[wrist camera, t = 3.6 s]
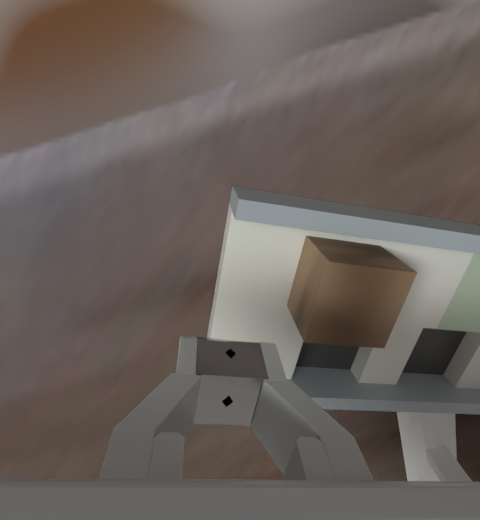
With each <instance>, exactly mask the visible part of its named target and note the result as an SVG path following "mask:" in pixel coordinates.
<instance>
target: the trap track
mask: <svg viewBox="0 0 480 520" xmlns="http://www.w3.org/2000/svg"><path fill="white" fill-rule="evenodd" d="M306 236H314V237H321V238H328V239H336V240H343V241H350V242H358V243H365V244H372V245H380V246H381V247H383V248H384V249H385V250H387V251H388V252H389V253H391V254H392V255H394V256H395V257H396V258H398V259H399V260H401V261H402V262H403V263H405V264H406V265H408V266H409V267H410V268H412V269H413V270H415V271H416V272H417V275H416V277H415V280H414V282H413V284H412V286H411V289H410V291H409V293H408V296H407V298H406V300H405V302H404V305H403V307H402V309H401V311H400V314H399V316H398V318H397V321H396V323H395V325H394V327H393V330H392V332H391V334H390V336H389V339H388V341H387V343H386V346H385V348H372V347H358V346H344V345H330V344H316V343H304V341H303V339H302V337H301V335H300V333H299V331H298V328H297V326H296V324H295V322H294V320H293V318H292V315H291V313H290V311H289V309H288V307H287V303H288V299H289V295H290V292H291V288H292V284H293V281H294V277H295V273H296V270H297V266H298V262H299V259H300V255H301V251H302V248H303V244H304V241H305V237H306ZM207 338H214V339H223V340H232V341H245V342H267V343H274V344H275V345H276V347H277V350H278V353H279V357H280V360H281V363H282V366H283V369H284V373H285V376H286V379H287V381H292V382H293V383H294V384H295V385H297V386H298V387H299V388H300V389H301V390H302V391H303V392H304V393H306V394H307V395H308V396H309V397H310V398H311V399H312V400H313V401H314V402H316V403H317V404H318V405H319V406H320V407H321V408H322V409H332V410H362V411H392V412H422V413H452V414H480V225H475V224H469V223H462V222H456V221H450V220H443V219H437V218H431V217H425V216H418V215H412V214H406V213H399V212H393V211H387V210H381V209H374V208H368V207H362V206H355V205H349V204H343V203H336V202H330V201H324V200H318V199H311V198H305V197H299V196H292V195H286V194H280V193H274V192H267V191H261V190H255V189H248V188H242V187H236V186H232V192H231V198H230V204H229V209H228V215H227V221H226V227H225V233H224V239H223V245H222V251H221V257H220V263H219V269H218V275H217V280H216V286H215V292H214V298H213V304H212V310H211V316H210V322H209V328H208V334H207Z"/></svg>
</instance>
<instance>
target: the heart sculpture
mask: <svg viewBox="0 0 480 520" xmlns="http://www.w3.org/2000/svg"><path fill="white" fill-rule="evenodd" d="M397 417H398V423H399V430H400V436H401V442H402V449H403V455H404V461H405V468H406V474H407V480H408V481H469V482H472V480H471V479H470V478H469V476H468V475H467V474H466V472H465V471H464V470H463V468H462V467H461V466H460V464H459V463H458V462H457V450H456V424H455V414H452V413H422V412H397Z"/></svg>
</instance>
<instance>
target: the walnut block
mask: <svg viewBox="0 0 480 520" xmlns="http://www.w3.org/2000/svg"><path fill="white" fill-rule="evenodd" d="M416 275H417V272H416V271H415V270H413V269H412V268H410V267H409V266H408V265H406V264H405V263H403V262H402V261H401V260H399V259H398V258H396V257H395V256H394V255H392V254H391V253H389V252H388V251H387V250H385V249H384V248H383V247H381V246H380V245H372V244H365V243H358V242H350V241H343V240H336V239H328V238H321V237H314V236H306V237H305V241H304V244H303V248H302V251H301V255H300V259H299V262H298V266H297V270H296V273H295V277H294V281H293V284H292V288H291V292H290V295H289V299H288V303H287V307H288V309H289V311H290V313H291V315H292V318H293V320H294V322H295V324H296V326H297V328H298V331H299V333H300V335H301V337H302V339H303V341H304V343H316V344H330V345H344V346H358V347H372V348H385V346H386V343H387V341H388V339H389V336H390V334H391V332H392V330H393V327H394V325H395V323H396V321H397V318H398V316H399V314H400V311H401V309H402V307H403V305H404V302H405V300H406V298H407V296H408V293H409V291H410V289H411V286H412V284H413V282H414V280H415V277H416Z"/></svg>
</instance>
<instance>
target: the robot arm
mask: <svg viewBox="0 0 480 520" xmlns="http://www.w3.org/2000/svg"><path fill="white" fill-rule="evenodd" d="M194 424H229V425H244V426H251V429H252V430H253V432H254V433H255V434H256V436H257V437H258V439H259V440H260V442H261V443H262V444H263V446H264V447H265V449H266V450H267V452H268V453H269V455H270V456H271V457H272V459H273V460H274V462H275V463H276V465H277V466H278V467H279V469H280V470H281V472H282V473H283V475H284V476H283V478H282V480H218V479H182V471H183V452H184V439H185V437H186V436H187V434H188V433H189V431H190V430H191V428H192V427H193V425H194ZM0 520H480V482H469V481H374V479H373V477H372V475H371V473H370V471H369V469H368V466H367V464H366V462H365V460H364V458H363V455H362V453H361V451H360V449H359V447H358V444H357V442H356V440H355V438H354V437H353V436H352V435H351V434H350V433H349V432H348V431H347V430H346V429H345V428H343V427H342V426H341V425H340V424H339V423H338V422H337V421H336V420H334V419H333V418H332V417H331V416H330V415H329V414H328V413H327V412H326V411H324V410H323V409H322V408H321V407H320V406H319V405H318V404H317V403H316V402H314V401H313V400H312V399H311V398H310V397H309V396H308V395H307V394H306V393H304V392H303V391H302V390H301V389H300V388H299V387H298V386H297V385H295V384H294V383H293V382H292V381H287V379H286V376H285V373H284V369H283V366H282V363H281V360H280V357H279V353H278V350H277V347H276V345H275V344H274V343H267V342H245V341H232V340H223V339H214V338H204V337H193V336H182V335H181V336H180V342H179V349H178V357H177V365H176V372H175V374H170V375H169V376H168V377H167V378H166V379H165V380H164V381H163V382H162V383H161V384H160V385H159V386H158V387H157V388H156V389H154V390H153V391H152V392H151V393H150V394H149V395H148V396H147V397H146V398H145V399H144V400H143V401H142V402H141V403H140V404H139V405H138V406H137V407H136V408H135V409H134V410H132V411H131V412H130V413H129V414H128V415H127V416H126V417H125V418H124V419H123V420H122V421H121V422H120V423H119V424H118V425H117V426H116V427H115V428H114V429H113V432H112V435H111V439H110V442H109V446H108V449H107V452H106V456H105V459H104V463H103V466H102V470H101V473H100V476H99V479H98V478H0Z"/></svg>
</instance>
